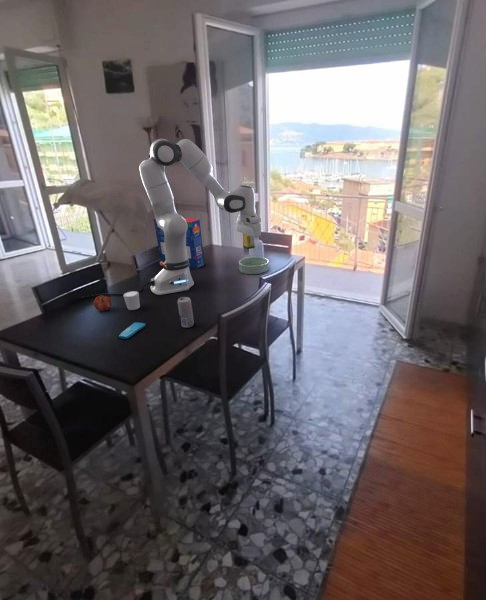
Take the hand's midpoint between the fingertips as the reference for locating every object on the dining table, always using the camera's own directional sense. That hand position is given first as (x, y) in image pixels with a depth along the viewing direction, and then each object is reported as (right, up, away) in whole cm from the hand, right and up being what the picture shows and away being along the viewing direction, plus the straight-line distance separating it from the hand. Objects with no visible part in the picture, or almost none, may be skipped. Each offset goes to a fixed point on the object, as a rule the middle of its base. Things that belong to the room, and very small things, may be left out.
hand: (248, 242), depth 195 cm
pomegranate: (-66, -37, -30) cm, 81 cm away
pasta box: (-43, -9, +28) cm, 52 cm away
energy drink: (-23, -43, -45) cm, 66 cm away
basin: (+2, -14, +15) cm, 20 cm away
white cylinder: (-52, -35, -28) cm, 69 cm away
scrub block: (0, -3, +1) cm, 3 cm away
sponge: (-45, -45, -49) cm, 80 cm away
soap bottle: (+3, -5, +33) cm, 33 cm away
